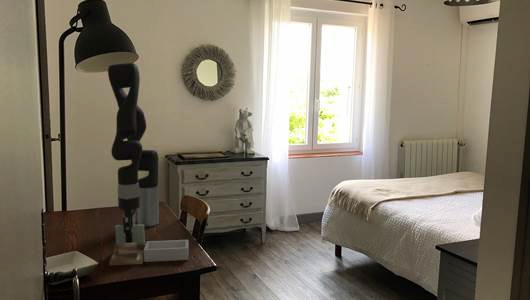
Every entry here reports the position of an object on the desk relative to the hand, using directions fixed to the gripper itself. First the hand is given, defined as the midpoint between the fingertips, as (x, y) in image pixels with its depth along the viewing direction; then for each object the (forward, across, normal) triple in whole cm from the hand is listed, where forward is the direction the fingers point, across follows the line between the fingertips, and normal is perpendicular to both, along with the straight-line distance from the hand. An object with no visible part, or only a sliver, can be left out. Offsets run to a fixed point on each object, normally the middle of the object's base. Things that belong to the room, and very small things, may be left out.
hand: (130, 239), depth 173 cm
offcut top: (+1, +10, 0) cm, 10 cm away
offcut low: (+4, +10, 0) cm, 10 cm away
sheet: (+4, 0, 0) cm, 4 cm away
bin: (+5, +5, +14) cm, 15 cm away
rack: (+5, +5, 0) cm, 7 cm away
